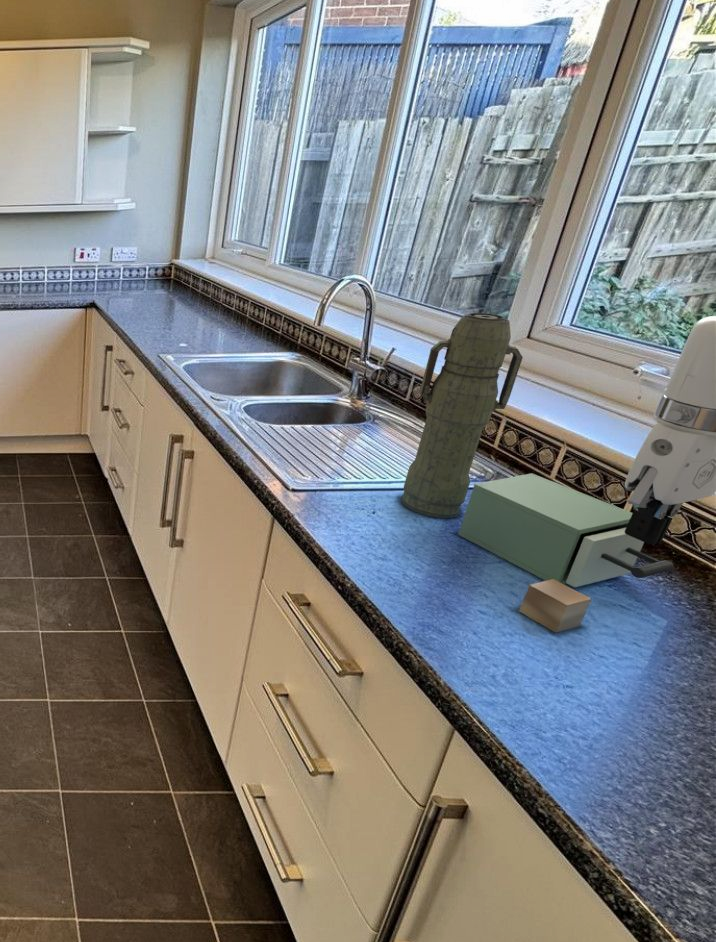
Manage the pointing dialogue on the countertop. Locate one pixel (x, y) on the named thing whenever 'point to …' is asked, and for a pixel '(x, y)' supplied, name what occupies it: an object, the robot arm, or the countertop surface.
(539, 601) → the block
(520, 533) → the sage drawer box
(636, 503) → the robot arm
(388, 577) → the countertop surface
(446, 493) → the thermos
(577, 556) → the pull-out drawer
